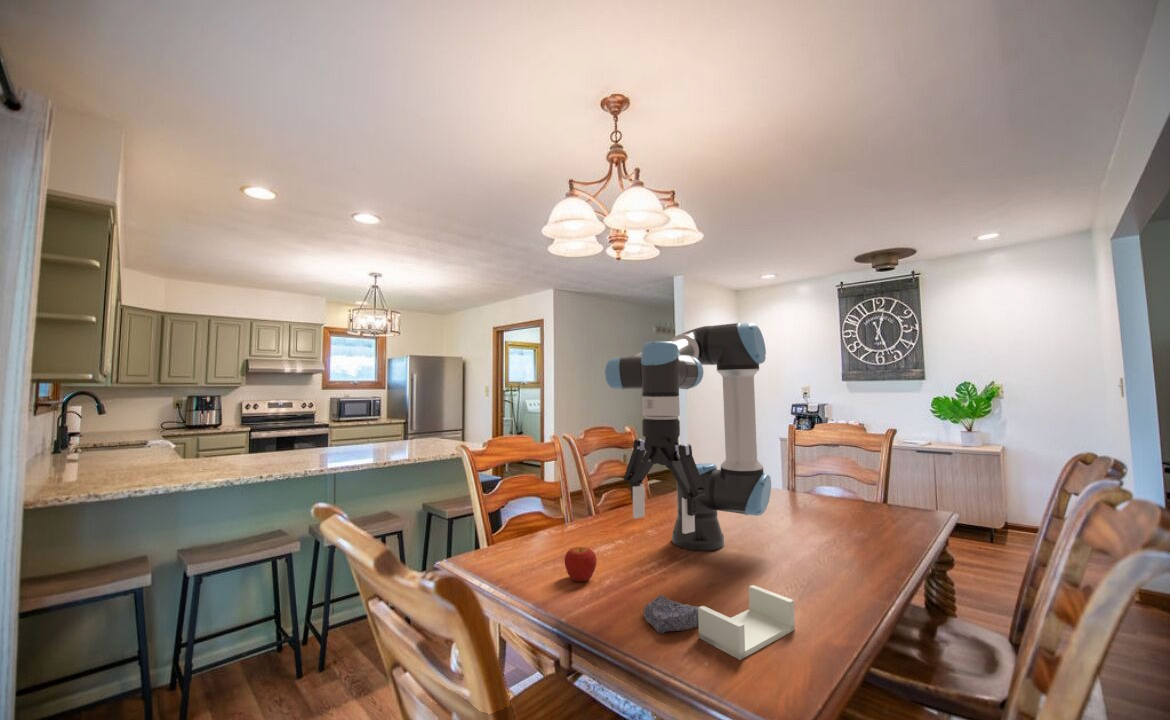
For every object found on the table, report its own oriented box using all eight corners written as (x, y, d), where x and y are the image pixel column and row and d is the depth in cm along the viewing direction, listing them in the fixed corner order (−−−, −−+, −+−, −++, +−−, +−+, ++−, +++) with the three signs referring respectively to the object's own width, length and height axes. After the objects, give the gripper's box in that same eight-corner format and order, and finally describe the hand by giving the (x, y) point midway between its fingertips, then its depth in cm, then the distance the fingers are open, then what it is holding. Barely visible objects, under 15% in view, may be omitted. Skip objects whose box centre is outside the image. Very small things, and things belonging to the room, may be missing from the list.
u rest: (698, 638, 89) (698, 607, 89) (753, 612, 99) (752, 584, 99) (740, 660, 81) (739, 626, 82) (794, 629, 91) (793, 600, 92)
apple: (600, 575, 119) (600, 543, 119) (590, 588, 111) (590, 553, 112) (571, 571, 121) (571, 540, 122) (559, 583, 114) (559, 550, 114)
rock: (707, 603, 93) (670, 610, 88) (706, 633, 92) (670, 642, 87) (663, 586, 103) (628, 592, 97) (662, 613, 102) (627, 621, 96)
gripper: (607, 415, 105) (608, 514, 103) (697, 421, 85) (699, 543, 84) (632, 414, 109) (633, 509, 108) (723, 419, 89) (726, 535, 88)
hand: (662, 524), depth 96 cm, fingers open, 13 cm apart
